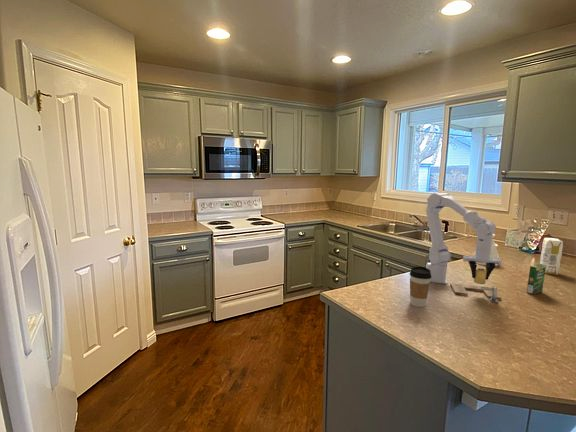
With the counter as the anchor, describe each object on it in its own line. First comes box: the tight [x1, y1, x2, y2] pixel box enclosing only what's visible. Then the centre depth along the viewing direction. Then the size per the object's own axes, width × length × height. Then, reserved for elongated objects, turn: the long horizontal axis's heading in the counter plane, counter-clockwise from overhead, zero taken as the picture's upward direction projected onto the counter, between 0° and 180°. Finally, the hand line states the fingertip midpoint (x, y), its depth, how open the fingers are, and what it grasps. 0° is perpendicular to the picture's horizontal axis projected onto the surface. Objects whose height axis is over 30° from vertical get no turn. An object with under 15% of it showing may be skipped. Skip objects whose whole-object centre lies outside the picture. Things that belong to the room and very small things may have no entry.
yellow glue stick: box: [473, 267, 487, 285], centre depth 142 cm, size 4×4×6 cm
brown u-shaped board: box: [450, 282, 502, 301], centre depth 146 cm, size 18×12×1 cm, turn 73°
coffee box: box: [526, 263, 546, 295], centre depth 146 cm, size 8×3×13 cm, turn 115°
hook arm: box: [480, 286, 500, 304], centre depth 137 cm, size 7×3×6 cm, turn 73°
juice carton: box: [539, 237, 564, 276], centre depth 177 cm, size 8×9×19 cm
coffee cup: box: [409, 266, 432, 308], centre depth 131 cm, size 8×8×15 cm
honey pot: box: [473, 233, 500, 267], centre depth 193 cm, size 13×13×18 cm
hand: (479, 278), depth 142 cm, fingers closed on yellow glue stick, 4 cm apart
